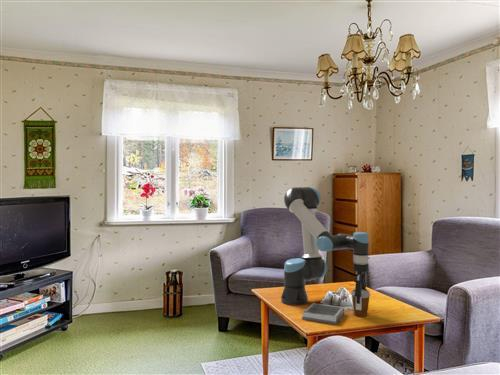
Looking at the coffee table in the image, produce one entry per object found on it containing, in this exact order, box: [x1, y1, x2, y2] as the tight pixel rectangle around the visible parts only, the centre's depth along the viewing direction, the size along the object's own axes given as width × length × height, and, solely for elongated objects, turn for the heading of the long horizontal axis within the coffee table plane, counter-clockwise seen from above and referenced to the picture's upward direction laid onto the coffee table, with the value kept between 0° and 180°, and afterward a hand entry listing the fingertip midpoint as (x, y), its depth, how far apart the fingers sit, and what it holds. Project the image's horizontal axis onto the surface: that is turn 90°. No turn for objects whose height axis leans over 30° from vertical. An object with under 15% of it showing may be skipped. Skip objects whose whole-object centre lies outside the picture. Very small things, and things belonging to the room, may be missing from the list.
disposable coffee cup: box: [350, 289, 371, 318], centre depth 205 cm, size 10×10×12 cm
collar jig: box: [301, 302, 345, 326], centre depth 202 cm, size 17×17×4 cm
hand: (360, 306), depth 205 cm, fingers open, 10 cm apart
